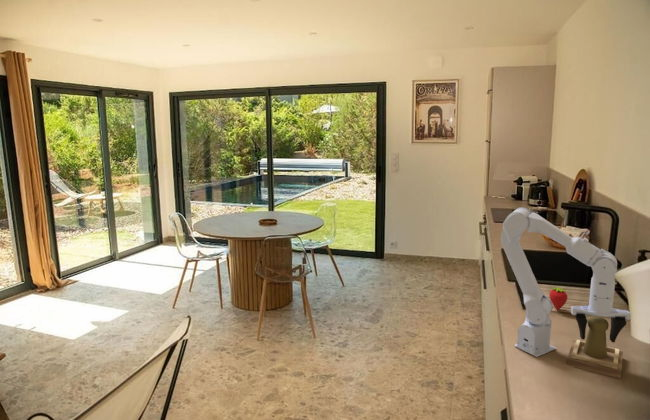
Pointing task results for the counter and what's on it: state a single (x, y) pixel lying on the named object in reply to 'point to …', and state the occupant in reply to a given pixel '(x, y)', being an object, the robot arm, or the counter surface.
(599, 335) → the cork
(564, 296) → the strawberry
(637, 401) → the counter surface
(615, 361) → the wooden serving tray
